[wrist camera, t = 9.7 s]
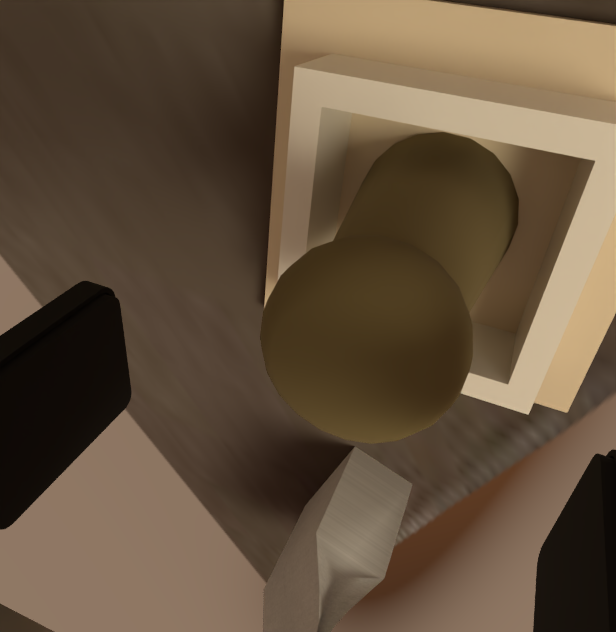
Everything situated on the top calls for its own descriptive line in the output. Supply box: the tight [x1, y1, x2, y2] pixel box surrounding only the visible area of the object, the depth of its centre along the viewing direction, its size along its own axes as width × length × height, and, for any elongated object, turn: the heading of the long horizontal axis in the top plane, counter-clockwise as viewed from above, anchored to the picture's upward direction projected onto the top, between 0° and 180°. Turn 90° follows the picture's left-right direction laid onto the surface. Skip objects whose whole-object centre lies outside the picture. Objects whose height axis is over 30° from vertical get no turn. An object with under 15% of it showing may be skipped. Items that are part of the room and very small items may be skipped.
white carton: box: [263, 447, 413, 632], centre depth 28 cm, size 4×7×10 cm, turn 154°
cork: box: [260, 132, 519, 444], centre depth 17 cm, size 6×6×11 cm
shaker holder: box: [264, 0, 616, 415], centre depth 20 cm, size 14×14×4 cm
